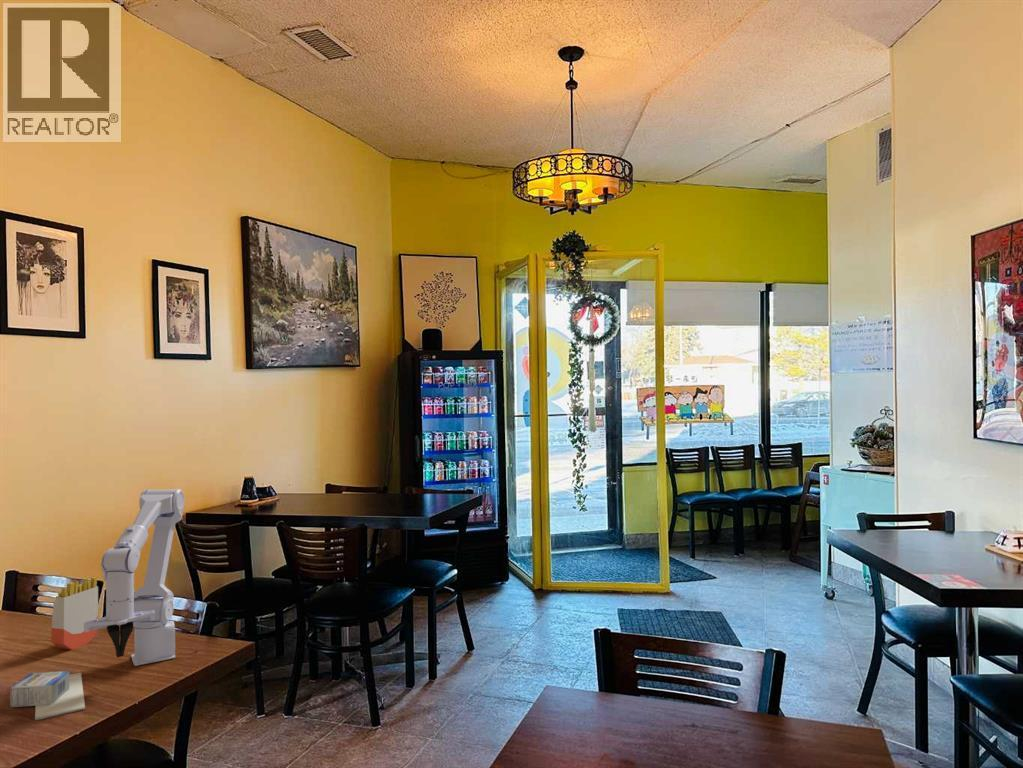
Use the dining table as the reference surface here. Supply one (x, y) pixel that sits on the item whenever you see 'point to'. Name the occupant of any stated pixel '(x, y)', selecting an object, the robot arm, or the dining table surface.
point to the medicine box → (39, 689)
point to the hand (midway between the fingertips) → (119, 655)
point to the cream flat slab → (64, 700)
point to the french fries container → (74, 614)
